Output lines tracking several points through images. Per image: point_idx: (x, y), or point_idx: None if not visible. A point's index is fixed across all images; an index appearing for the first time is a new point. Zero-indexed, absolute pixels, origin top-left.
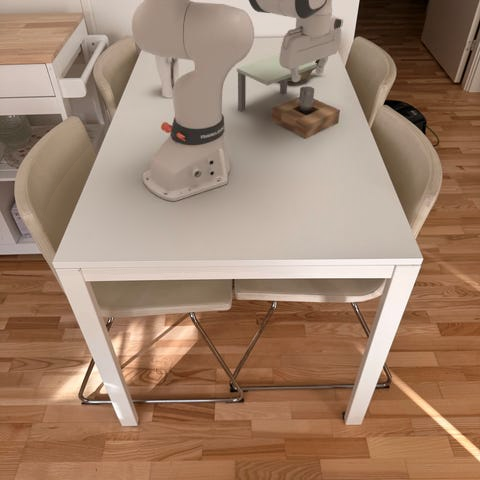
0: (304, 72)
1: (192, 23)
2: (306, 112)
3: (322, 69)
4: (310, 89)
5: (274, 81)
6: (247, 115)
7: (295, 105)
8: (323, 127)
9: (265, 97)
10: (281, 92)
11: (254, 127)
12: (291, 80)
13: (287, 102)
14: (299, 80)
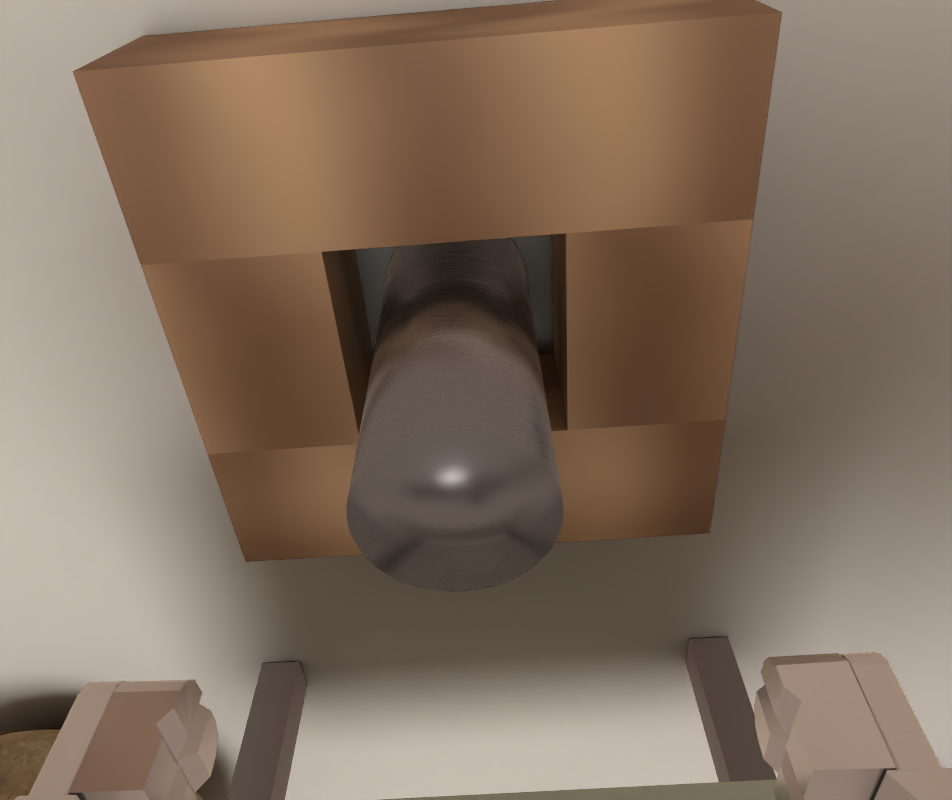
0: (18, 785)
1: None
2: (502, 288)
3: (93, 743)
4: (419, 492)
5: None
6: (741, 587)
7: None
8: (412, 18)
9: (437, 688)
10: (301, 684)
11: (866, 442)
12: None
13: None
14: (795, 665)
